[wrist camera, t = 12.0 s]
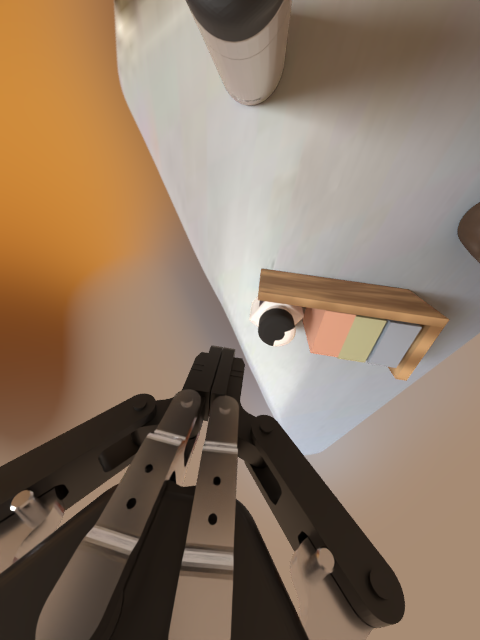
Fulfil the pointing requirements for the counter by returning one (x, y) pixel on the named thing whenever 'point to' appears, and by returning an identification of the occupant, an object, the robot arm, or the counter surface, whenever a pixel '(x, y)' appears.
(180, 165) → the counter surface
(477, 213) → the plant pot
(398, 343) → the book
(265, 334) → the container
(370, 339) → the book
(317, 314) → the book
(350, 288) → the wooden book rack
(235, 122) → the counter surface
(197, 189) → the counter surface
